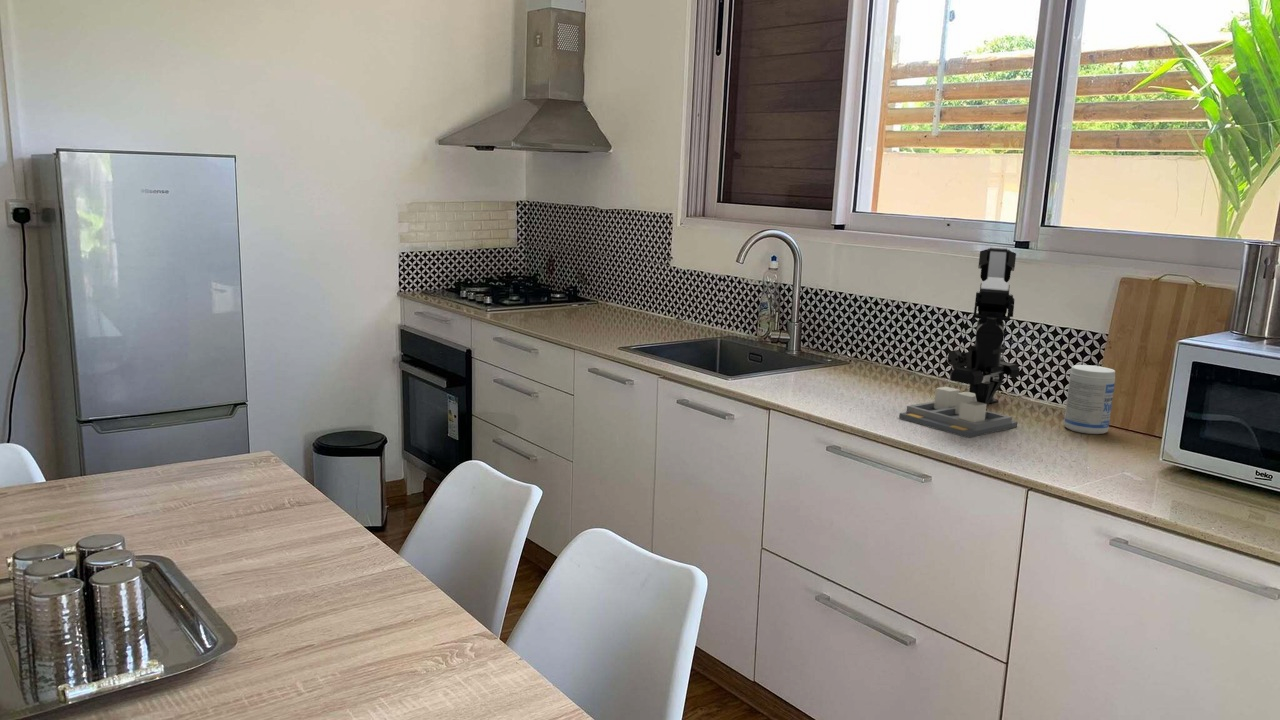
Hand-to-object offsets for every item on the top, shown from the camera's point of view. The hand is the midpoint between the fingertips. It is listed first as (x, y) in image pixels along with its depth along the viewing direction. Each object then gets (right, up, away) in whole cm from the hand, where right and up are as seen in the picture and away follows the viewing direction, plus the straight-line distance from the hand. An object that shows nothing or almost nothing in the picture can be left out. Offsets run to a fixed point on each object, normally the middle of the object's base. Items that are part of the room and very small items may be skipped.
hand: (981, 409), depth 218 cm
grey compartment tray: (-4, -3, +6) cm, 8 cm away
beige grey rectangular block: (-4, -1, +12) cm, 13 cm away
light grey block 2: (-3, -3, -1) cm, 4 cm away
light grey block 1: (-1, -2, +8) cm, 8 cm away
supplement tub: (+26, -5, +4) cm, 27 cm away
